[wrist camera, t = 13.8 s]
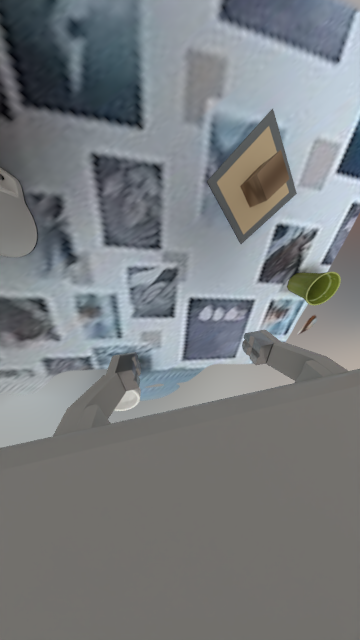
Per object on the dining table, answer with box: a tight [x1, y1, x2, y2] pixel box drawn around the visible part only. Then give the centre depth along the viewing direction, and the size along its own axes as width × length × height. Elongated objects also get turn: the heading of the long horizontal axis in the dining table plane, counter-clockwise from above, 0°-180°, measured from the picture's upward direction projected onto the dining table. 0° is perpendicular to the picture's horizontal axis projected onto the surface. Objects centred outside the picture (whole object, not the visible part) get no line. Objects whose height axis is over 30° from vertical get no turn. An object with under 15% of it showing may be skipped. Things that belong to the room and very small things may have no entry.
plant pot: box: [287, 272, 341, 305], centre depth 41 cm, size 9×9×9 cm
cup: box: [114, 388, 141, 411], centre depth 45 cm, size 11×11×14 cm
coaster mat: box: [207, 109, 297, 244], centre depth 31 cm, size 16×16×1 cm
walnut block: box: [240, 150, 289, 207], centre depth 29 cm, size 5×5×6 cm
